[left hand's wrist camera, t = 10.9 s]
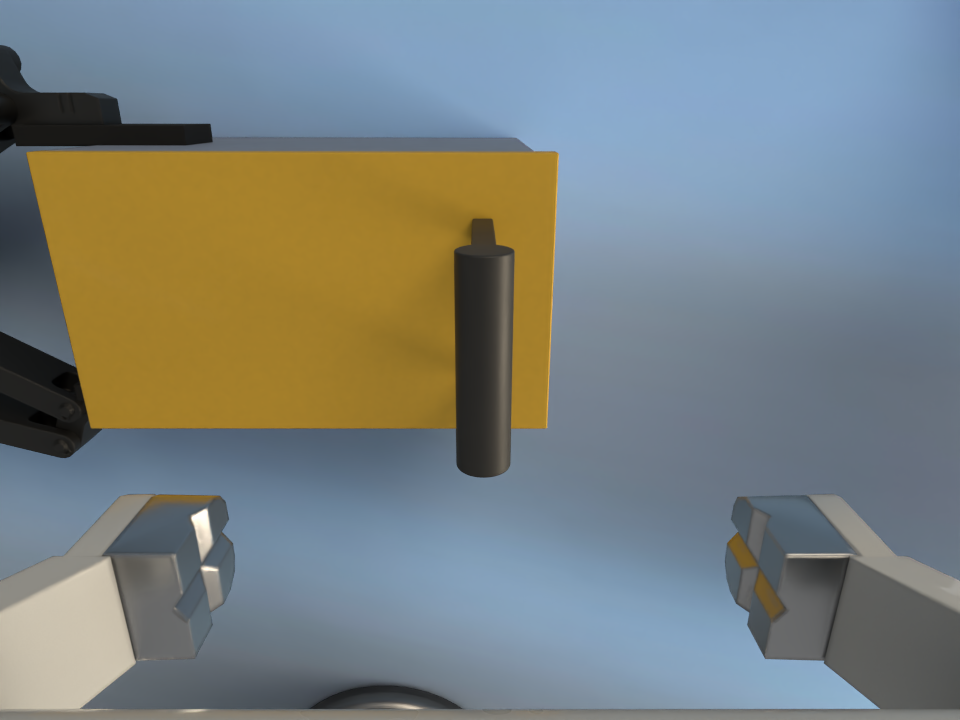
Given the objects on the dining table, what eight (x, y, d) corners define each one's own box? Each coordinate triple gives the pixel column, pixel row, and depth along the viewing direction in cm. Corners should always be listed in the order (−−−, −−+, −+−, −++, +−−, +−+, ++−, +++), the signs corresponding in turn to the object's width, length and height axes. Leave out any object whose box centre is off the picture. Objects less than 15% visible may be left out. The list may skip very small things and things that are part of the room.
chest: (517, 137, 32) (535, 151, 22) (513, 330, 36) (527, 419, 26) (179, 137, 32) (41, 150, 22) (209, 330, 36) (102, 418, 26)
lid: (556, 151, 22) (593, 171, 15) (545, 419, 26) (570, 538, 19) (40, 150, 22) (-167, 170, 15) (101, 419, 26) (-43, 538, 18)
